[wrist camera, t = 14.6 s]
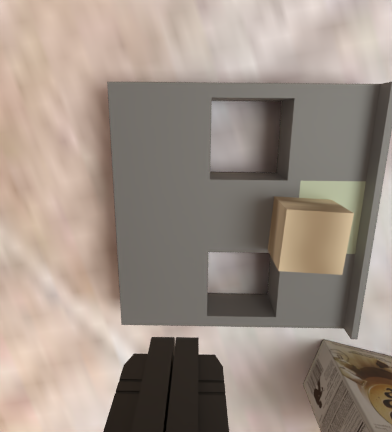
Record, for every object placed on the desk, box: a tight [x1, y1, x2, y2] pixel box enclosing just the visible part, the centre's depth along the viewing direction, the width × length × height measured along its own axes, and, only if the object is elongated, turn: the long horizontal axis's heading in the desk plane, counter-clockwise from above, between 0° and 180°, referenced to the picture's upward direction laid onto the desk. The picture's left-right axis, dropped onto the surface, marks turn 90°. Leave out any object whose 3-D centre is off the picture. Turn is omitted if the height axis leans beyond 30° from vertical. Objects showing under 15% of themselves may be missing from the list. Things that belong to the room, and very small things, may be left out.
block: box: [268, 196, 354, 275], centre depth 25 cm, size 4×4×4 cm
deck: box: [107, 82, 392, 339], centre depth 28 cm, size 20×20×6 cm
